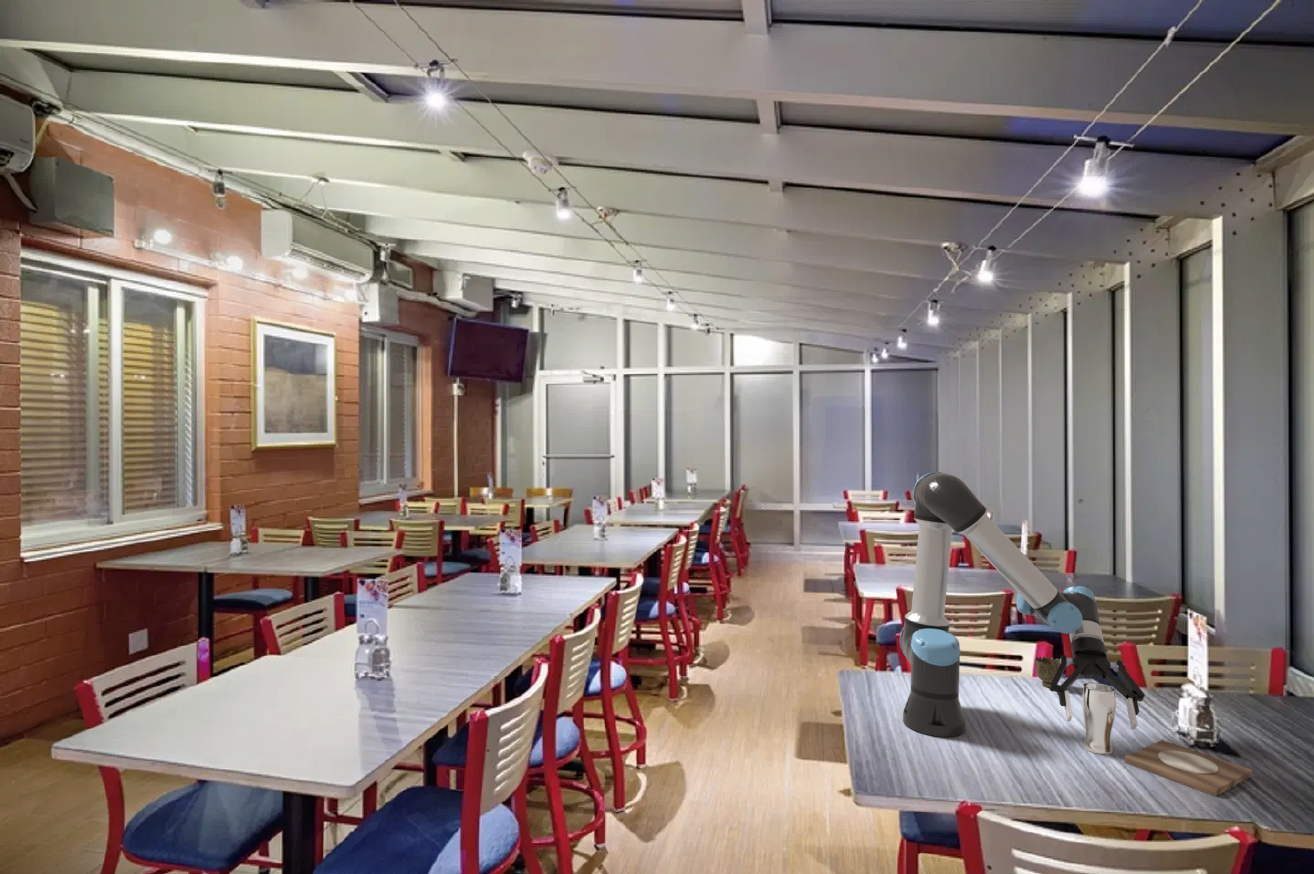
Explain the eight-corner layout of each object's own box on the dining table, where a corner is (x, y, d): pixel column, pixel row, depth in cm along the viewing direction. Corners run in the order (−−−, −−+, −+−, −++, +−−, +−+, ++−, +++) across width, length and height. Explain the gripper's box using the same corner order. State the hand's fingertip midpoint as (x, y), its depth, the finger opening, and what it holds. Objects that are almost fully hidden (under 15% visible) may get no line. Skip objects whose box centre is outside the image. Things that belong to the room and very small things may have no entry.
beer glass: (1110, 745, 177) (1112, 684, 177) (1118, 757, 171) (1119, 694, 171) (1078, 741, 180) (1079, 680, 180) (1084, 752, 173) (1086, 690, 173)
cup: (1066, 691, 215) (1067, 664, 215) (1039, 689, 216) (1039, 662, 216) (1057, 683, 222) (1058, 657, 222) (1031, 681, 223) (1032, 655, 223)
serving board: (1216, 796, 153) (1216, 787, 153) (1124, 762, 168) (1124, 754, 168) (1252, 776, 162) (1252, 768, 162) (1162, 746, 178) (1162, 738, 178)
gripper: (1139, 655, 186) (1158, 737, 172) (1031, 645, 194) (1041, 722, 180) (1146, 640, 181) (1166, 723, 167) (1035, 630, 189) (1045, 708, 175)
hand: (1101, 722), depth 174 cm, fingers open, 13 cm apart
